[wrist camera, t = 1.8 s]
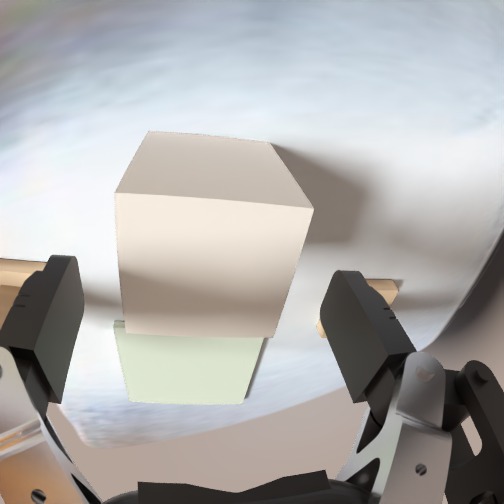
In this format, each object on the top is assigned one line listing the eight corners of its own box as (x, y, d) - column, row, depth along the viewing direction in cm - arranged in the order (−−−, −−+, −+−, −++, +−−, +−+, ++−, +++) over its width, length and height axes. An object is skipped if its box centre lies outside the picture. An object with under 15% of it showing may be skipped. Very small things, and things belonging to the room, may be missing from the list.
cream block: (148, 130, 12) (114, 192, 7) (269, 142, 13) (314, 208, 8) (144, 235, 15) (126, 332, 10) (248, 241, 16) (273, 337, 11)
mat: (114, 320, 18) (113, 327, 17) (264, 326, 20) (265, 332, 19) (130, 396, 23) (129, 401, 22) (241, 398, 25) (242, 403, 24)
